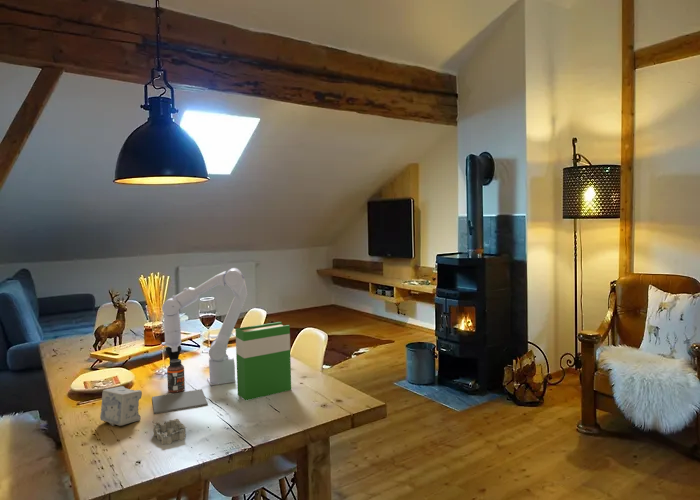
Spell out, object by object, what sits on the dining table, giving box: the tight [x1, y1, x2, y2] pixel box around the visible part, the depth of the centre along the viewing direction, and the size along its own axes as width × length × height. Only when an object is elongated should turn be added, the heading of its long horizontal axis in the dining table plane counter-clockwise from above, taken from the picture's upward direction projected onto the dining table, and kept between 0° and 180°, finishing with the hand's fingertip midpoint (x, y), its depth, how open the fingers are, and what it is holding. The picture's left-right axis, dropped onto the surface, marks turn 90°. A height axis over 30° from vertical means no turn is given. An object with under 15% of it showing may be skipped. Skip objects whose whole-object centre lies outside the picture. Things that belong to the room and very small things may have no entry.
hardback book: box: [234, 321, 292, 402], centre depth 180 cm, size 18×7×24 cm, turn 124°
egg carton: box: [151, 418, 187, 445], centre depth 146 cm, size 11×8×4 cm
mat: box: [151, 388, 209, 415], centre depth 172 cm, size 17×15×1 cm
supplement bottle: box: [166, 358, 186, 394], centre depth 183 cm, size 6×6×11 cm
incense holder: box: [99, 385, 143, 427], centre depth 157 cm, size 10×8×10 cm
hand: (174, 365), depth 189 cm, fingers closed
